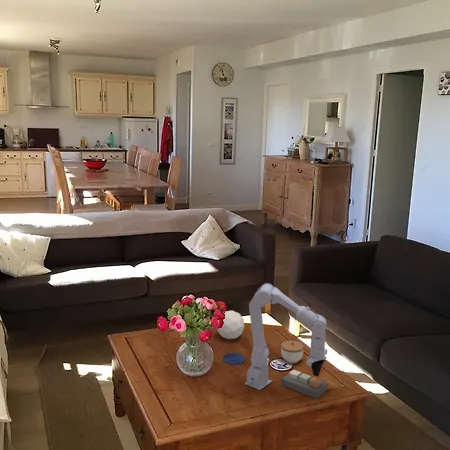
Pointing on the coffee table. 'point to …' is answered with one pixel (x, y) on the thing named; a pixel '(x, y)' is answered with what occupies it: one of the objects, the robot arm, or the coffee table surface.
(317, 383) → the pink block
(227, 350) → the coffee table surface
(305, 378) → the sage key
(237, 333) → the geometric shape
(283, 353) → the lidded jar
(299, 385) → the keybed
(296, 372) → the ivory key
